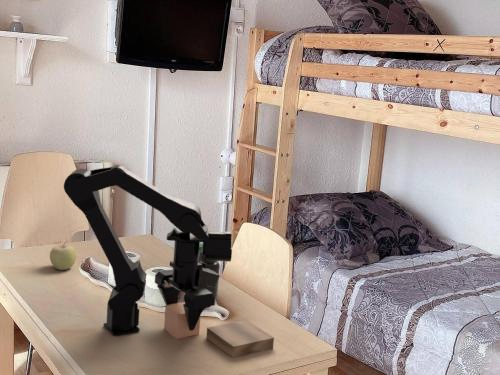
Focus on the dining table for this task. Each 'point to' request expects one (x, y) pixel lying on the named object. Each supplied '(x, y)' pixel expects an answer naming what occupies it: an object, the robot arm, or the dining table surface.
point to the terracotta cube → (178, 321)
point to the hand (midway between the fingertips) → (181, 322)
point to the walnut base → (239, 338)
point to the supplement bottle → (214, 267)
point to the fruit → (63, 257)
